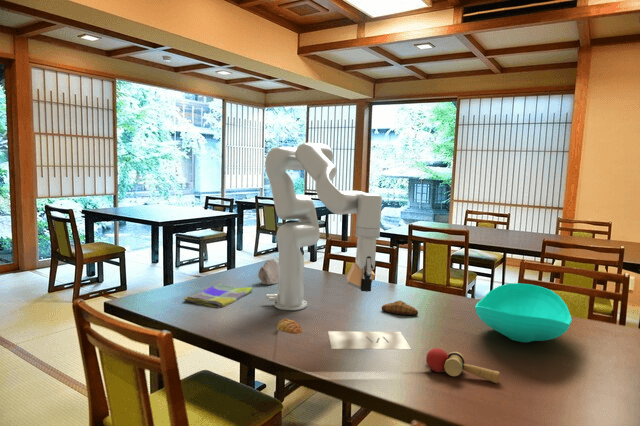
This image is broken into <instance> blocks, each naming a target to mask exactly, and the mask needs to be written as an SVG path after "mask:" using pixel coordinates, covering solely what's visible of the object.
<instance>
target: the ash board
mask: <svg viewBox="0 0 640 426" xmlns="http://www.w3.org/2000/svg"><path fill="white" fill-rule="evenodd" d="M327 334H328V338H329V343H330V348H331V350H412V348H411V346H410V344H409V343H408V341H407V340H406V338H405V337H404V335H403V334H402V332H401V331H349V330H348V331H347V330H346V331H340V330H338V331H337V330H336V331H330V330H328V331H327Z"/></svg>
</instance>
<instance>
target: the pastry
mask: <svg viewBox="0 0 640 426" xmlns="http://www.w3.org/2000/svg"><path fill="white" fill-rule="evenodd" d="M276 330H277V332H279V330H281V331H282V332H284V333H285V332H286V333H290V334H292V335H293V334H295V335H297V334H302V333H303V331H304V330H303V327H301V324H299V323H298V322H297V321H296V320H293V319H290V318H283V319H281V320H279V322H278V323H277V324H276Z"/></svg>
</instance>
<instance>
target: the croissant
mask: <svg viewBox="0 0 640 426" xmlns="http://www.w3.org/2000/svg"><path fill="white" fill-rule="evenodd" d="M381 311H383V312H384V313H385V312H386V313H391V314H395V315H401V316H403V315H404V316H418V315H419V311H418V309H416V308H415V307H413V306H411V305H409V304H407V303H406V302H404V301H402V300H397V301H394V302H389V303H386V304H383V305H381Z"/></svg>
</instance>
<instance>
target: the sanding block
mask: <svg viewBox="0 0 640 426" xmlns="http://www.w3.org/2000/svg"><path fill="white" fill-rule="evenodd" d="M364 269H367V268H364ZM365 272H366V271H365ZM375 276H376V274H375V272H374V271H373V270H372V278H371V279H372V282H371V284H372V283H373V280H374V279H375ZM361 278H362V269H361V270H360V269H359V268H358V267H357V265H356V262H355V263H354V262H352V265H351V267H350V269H349V271H348V273H347V275H346V277H345V282H346V284H347V285H350V286H352V287H354V288H357V289H359V290H361ZM368 292H369V291H365V293H368Z"/></svg>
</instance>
